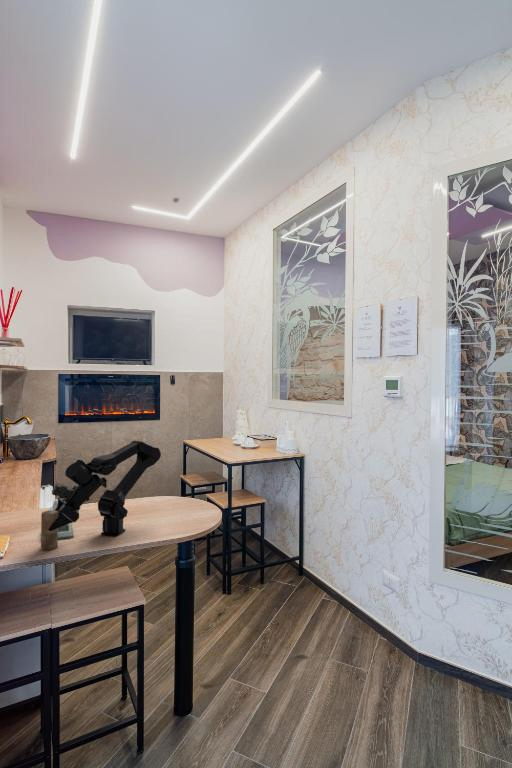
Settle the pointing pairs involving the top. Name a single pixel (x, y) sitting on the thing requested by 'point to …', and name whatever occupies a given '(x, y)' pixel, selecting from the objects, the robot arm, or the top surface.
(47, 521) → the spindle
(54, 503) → the pacifier
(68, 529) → the green square tray
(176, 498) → the top surface
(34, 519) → the top surface
